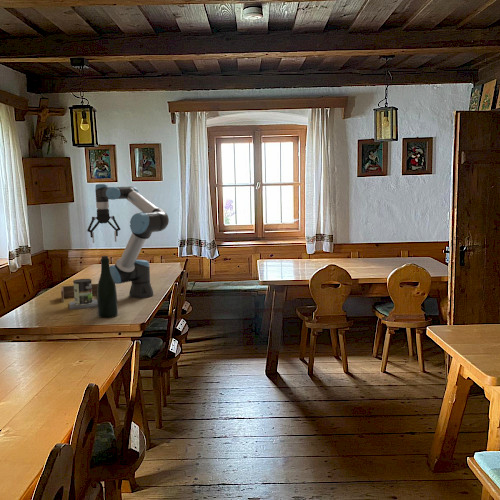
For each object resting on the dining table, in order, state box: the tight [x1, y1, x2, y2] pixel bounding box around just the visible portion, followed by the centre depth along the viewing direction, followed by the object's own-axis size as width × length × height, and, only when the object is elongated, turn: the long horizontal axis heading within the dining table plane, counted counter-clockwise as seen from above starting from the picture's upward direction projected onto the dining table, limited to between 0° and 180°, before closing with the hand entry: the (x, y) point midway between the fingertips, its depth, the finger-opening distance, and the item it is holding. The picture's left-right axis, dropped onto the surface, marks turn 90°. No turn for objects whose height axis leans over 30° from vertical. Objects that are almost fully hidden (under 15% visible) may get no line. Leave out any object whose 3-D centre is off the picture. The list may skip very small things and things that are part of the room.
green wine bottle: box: [96, 255, 119, 319], centre depth 275 cm, size 10×10×33 cm
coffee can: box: [72, 278, 93, 305], centre depth 301 cm, size 10×10×14 cm
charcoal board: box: [68, 299, 98, 310], centre depth 302 cm, size 16×16×1 cm
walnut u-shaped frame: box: [60, 283, 98, 303], centre depth 321 cm, size 15×25×7 cm, turn 109°
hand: (104, 242), depth 323 cm, fingers open, 13 cm apart
